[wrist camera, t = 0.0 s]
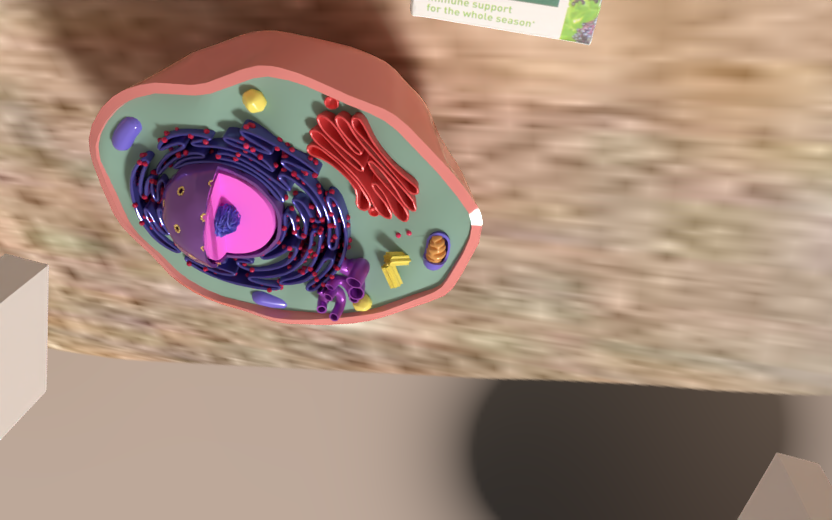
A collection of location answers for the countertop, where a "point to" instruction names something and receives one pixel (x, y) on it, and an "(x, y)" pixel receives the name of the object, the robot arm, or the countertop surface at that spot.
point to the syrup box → (519, 16)
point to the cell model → (288, 180)
